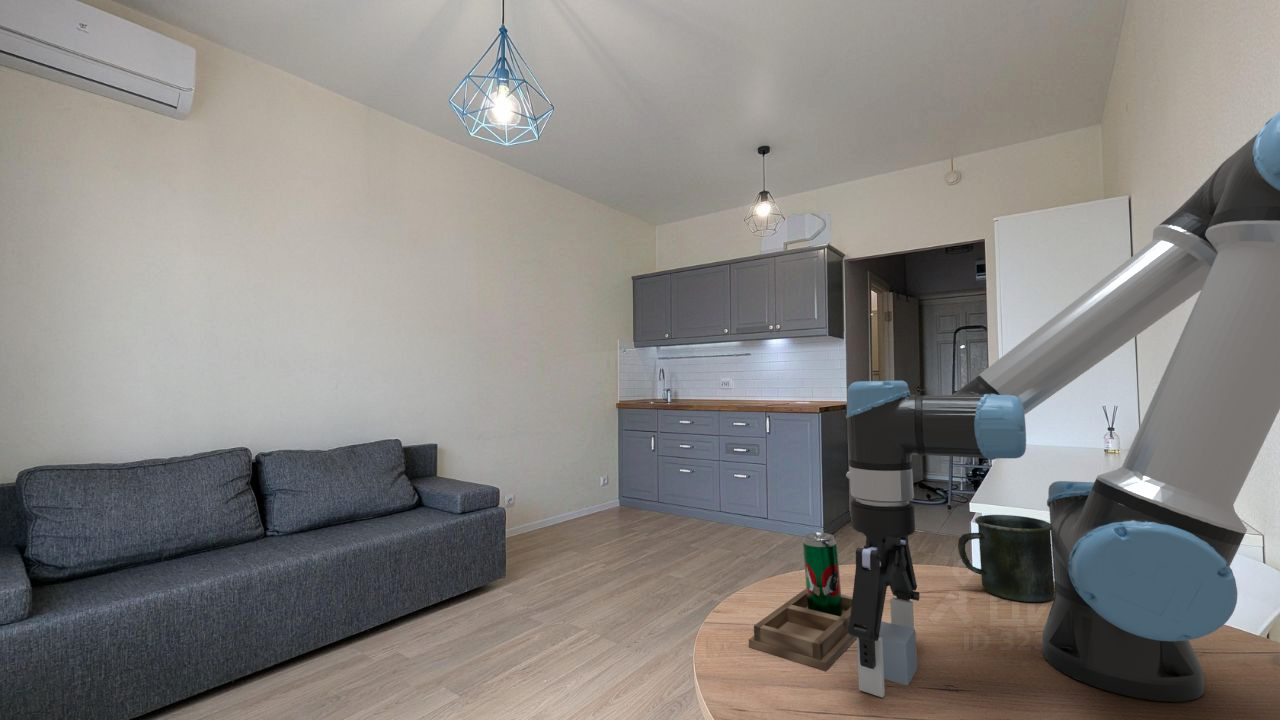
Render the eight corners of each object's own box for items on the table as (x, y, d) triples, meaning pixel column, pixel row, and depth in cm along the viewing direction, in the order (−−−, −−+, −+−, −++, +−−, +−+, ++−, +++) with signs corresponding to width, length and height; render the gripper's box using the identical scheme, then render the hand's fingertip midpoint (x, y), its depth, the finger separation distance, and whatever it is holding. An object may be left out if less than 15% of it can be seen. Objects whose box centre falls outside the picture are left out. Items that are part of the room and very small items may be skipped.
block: (917, 669, 70) (915, 629, 70) (907, 686, 66) (905, 643, 66) (876, 658, 73) (874, 619, 73) (864, 673, 69) (862, 633, 69)
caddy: (873, 620, 84) (872, 600, 84) (825, 670, 70) (824, 646, 70) (804, 604, 91) (804, 585, 91) (748, 646, 77) (748, 624, 77)
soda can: (845, 611, 85) (839, 533, 86) (839, 624, 80) (832, 541, 81) (812, 607, 87) (806, 530, 88) (805, 619, 83) (798, 538, 84)
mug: (1073, 605, 88) (1068, 529, 88) (976, 603, 90) (971, 529, 90) (1034, 582, 98) (1030, 514, 99) (948, 580, 100) (944, 514, 101)
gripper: (880, 483, 83) (887, 626, 81) (814, 514, 63) (821, 702, 62) (936, 488, 78) (943, 641, 77) (882, 523, 59) (891, 728, 57)
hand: (888, 669), depth 69 cm, fingers open, 13 cm apart
